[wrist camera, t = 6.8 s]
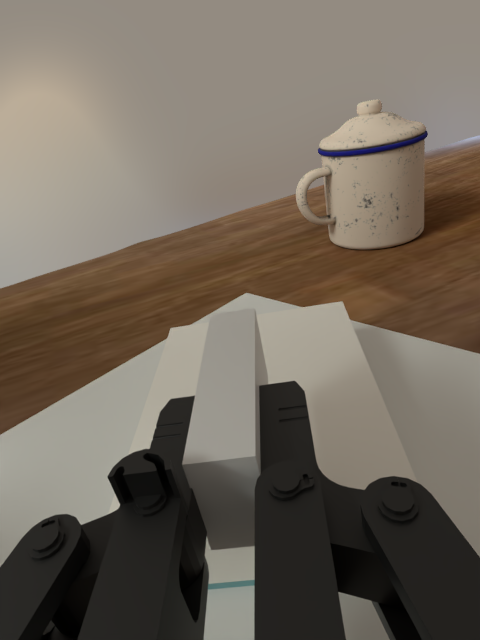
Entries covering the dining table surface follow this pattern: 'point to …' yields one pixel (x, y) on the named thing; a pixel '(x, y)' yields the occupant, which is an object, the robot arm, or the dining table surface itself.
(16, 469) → the mat
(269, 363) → the tile
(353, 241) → the teacup with lid
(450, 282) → the dining table surface
